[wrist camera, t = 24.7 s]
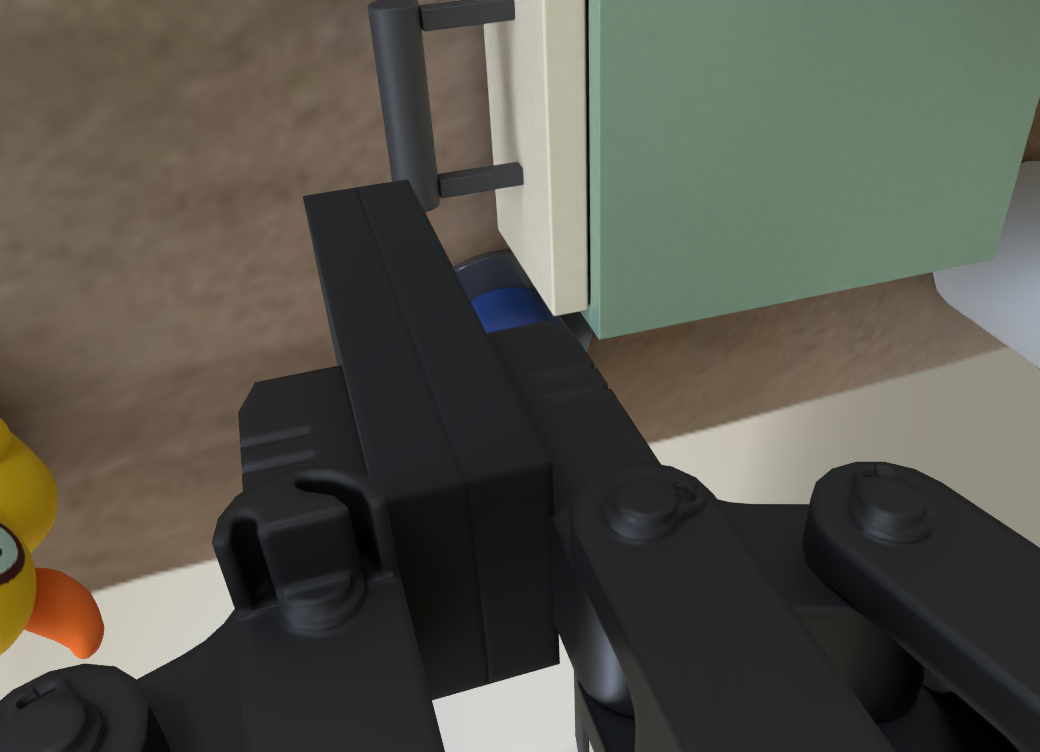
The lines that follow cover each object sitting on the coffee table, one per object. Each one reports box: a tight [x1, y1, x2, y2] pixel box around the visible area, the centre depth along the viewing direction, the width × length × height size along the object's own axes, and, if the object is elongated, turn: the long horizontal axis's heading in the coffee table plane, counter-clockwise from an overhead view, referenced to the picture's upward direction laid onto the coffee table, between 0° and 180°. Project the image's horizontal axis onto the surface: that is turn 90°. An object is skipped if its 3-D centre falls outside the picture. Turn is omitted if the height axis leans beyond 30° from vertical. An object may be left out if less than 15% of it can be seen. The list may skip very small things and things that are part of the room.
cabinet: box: [580, 0, 1040, 340], centre depth 29 cm, size 15×14×9 cm
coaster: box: [454, 250, 593, 353], centre depth 37 cm, size 8×8×1 cm
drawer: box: [368, 0, 590, 316], centre depth 28 cm, size 18×12×7 cm
